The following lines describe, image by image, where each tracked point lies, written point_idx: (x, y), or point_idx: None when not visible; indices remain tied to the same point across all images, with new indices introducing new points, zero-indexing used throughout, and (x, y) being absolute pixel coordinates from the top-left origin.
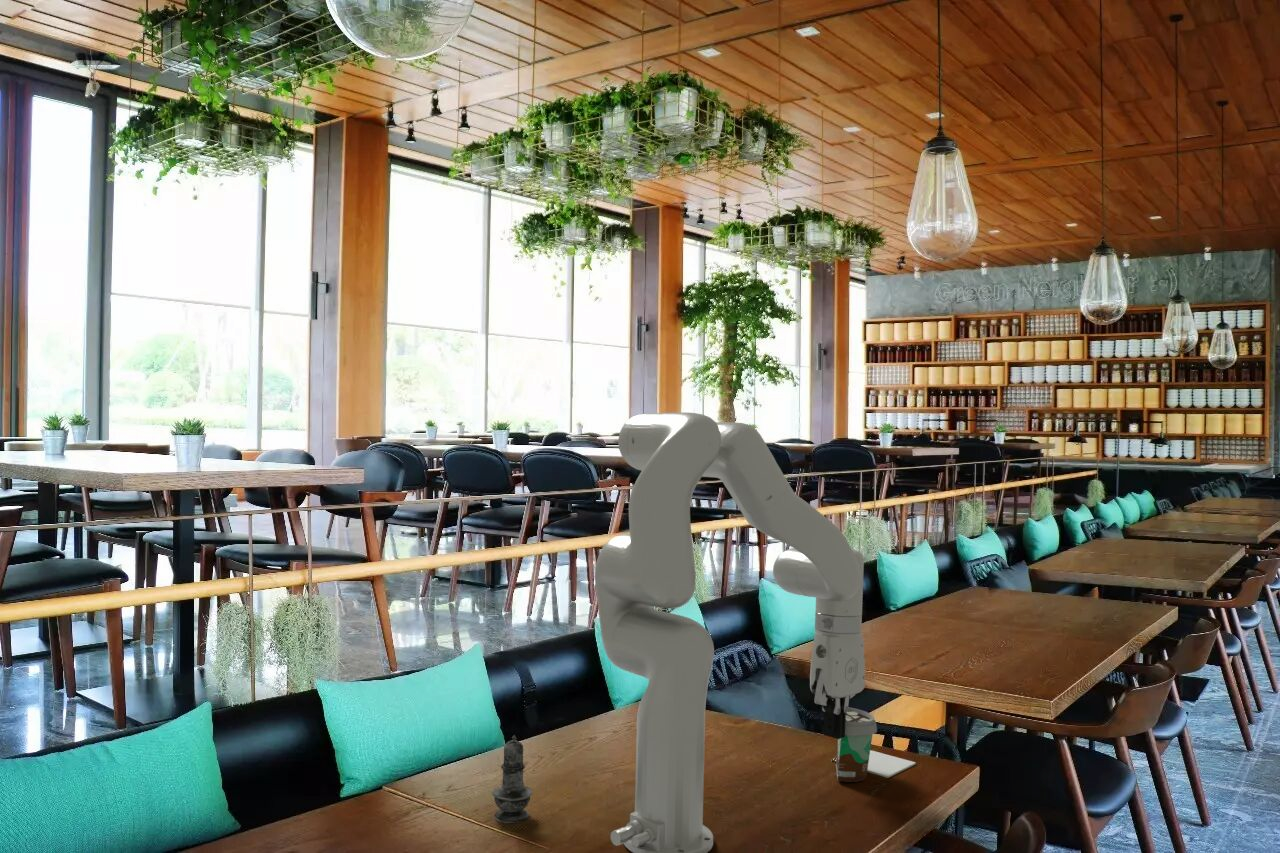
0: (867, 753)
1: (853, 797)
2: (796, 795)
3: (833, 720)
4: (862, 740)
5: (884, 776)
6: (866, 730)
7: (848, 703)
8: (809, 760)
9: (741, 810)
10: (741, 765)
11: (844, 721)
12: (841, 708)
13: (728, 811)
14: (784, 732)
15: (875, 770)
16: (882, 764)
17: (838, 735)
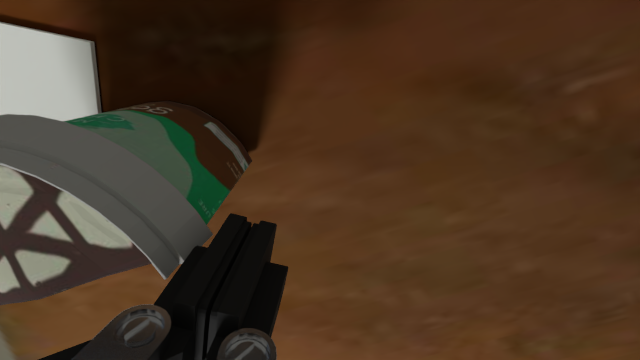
0: (117, 116)
1: (330, 81)
2: (406, 216)
3: (273, 316)
4: (124, 146)
5: (94, 55)
6: (81, 147)
7: (79, 352)
8: None
9: (572, 282)
10: (292, 356)
11: (209, 266)
12: (164, 350)
13: (589, 301)
14: (37, 349)
15: (78, 95)
16: (13, 93)
17: (271, 237)
